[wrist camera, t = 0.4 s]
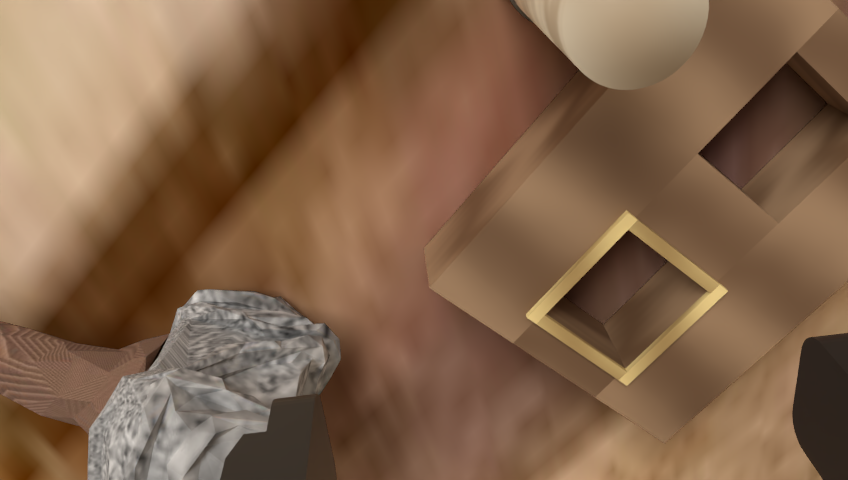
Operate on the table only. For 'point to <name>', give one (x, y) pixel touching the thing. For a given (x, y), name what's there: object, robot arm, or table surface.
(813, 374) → the robot arm
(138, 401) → the hammer
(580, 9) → the birch peg
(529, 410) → the table surface
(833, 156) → the walnut board
